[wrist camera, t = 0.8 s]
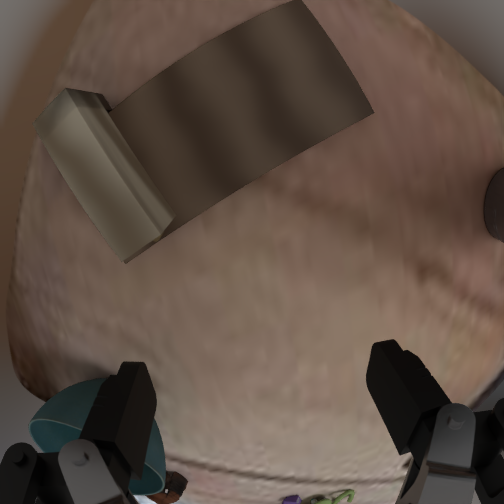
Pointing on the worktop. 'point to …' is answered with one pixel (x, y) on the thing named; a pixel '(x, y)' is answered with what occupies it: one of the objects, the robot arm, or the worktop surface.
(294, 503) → the figurine
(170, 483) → the pottery mug
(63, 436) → the plant pot
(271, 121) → the walnut plank
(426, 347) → the worktop surface
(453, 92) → the worktop surface
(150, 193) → the beige wooden block
